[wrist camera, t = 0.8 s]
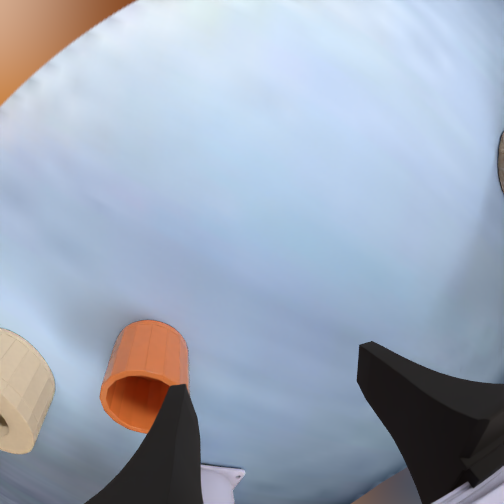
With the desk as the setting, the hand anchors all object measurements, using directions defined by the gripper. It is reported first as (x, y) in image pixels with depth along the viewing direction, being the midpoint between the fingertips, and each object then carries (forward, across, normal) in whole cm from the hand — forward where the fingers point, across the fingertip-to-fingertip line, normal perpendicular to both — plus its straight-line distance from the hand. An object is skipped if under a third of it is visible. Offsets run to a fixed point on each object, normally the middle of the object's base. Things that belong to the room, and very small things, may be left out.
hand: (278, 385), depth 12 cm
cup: (+9, +7, +3) cm, 12 cm away
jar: (+9, +20, +4) cm, 22 cm away
